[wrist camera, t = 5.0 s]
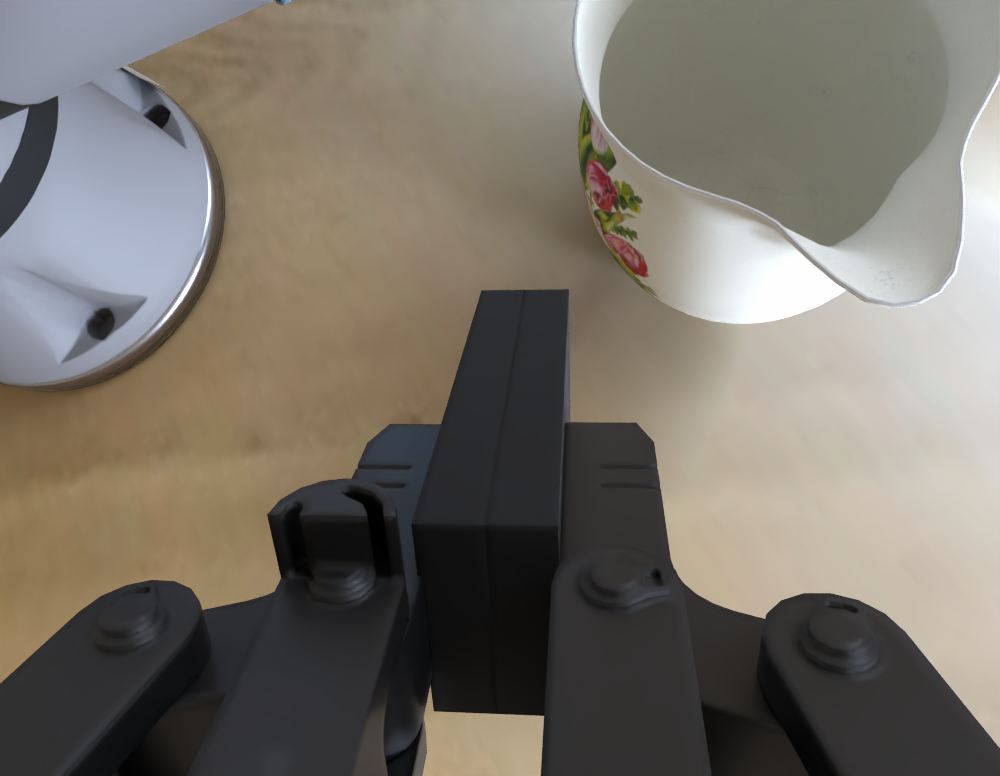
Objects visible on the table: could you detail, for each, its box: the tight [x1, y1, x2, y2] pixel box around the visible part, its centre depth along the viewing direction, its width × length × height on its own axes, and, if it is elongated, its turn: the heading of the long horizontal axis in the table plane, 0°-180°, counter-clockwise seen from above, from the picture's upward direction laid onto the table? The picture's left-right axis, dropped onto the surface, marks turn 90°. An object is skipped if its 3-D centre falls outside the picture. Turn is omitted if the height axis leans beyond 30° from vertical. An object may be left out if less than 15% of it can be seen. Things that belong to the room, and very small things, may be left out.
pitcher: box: [572, 0, 1000, 324], centre depth 26 cm, size 11×18×14 cm, turn 16°
